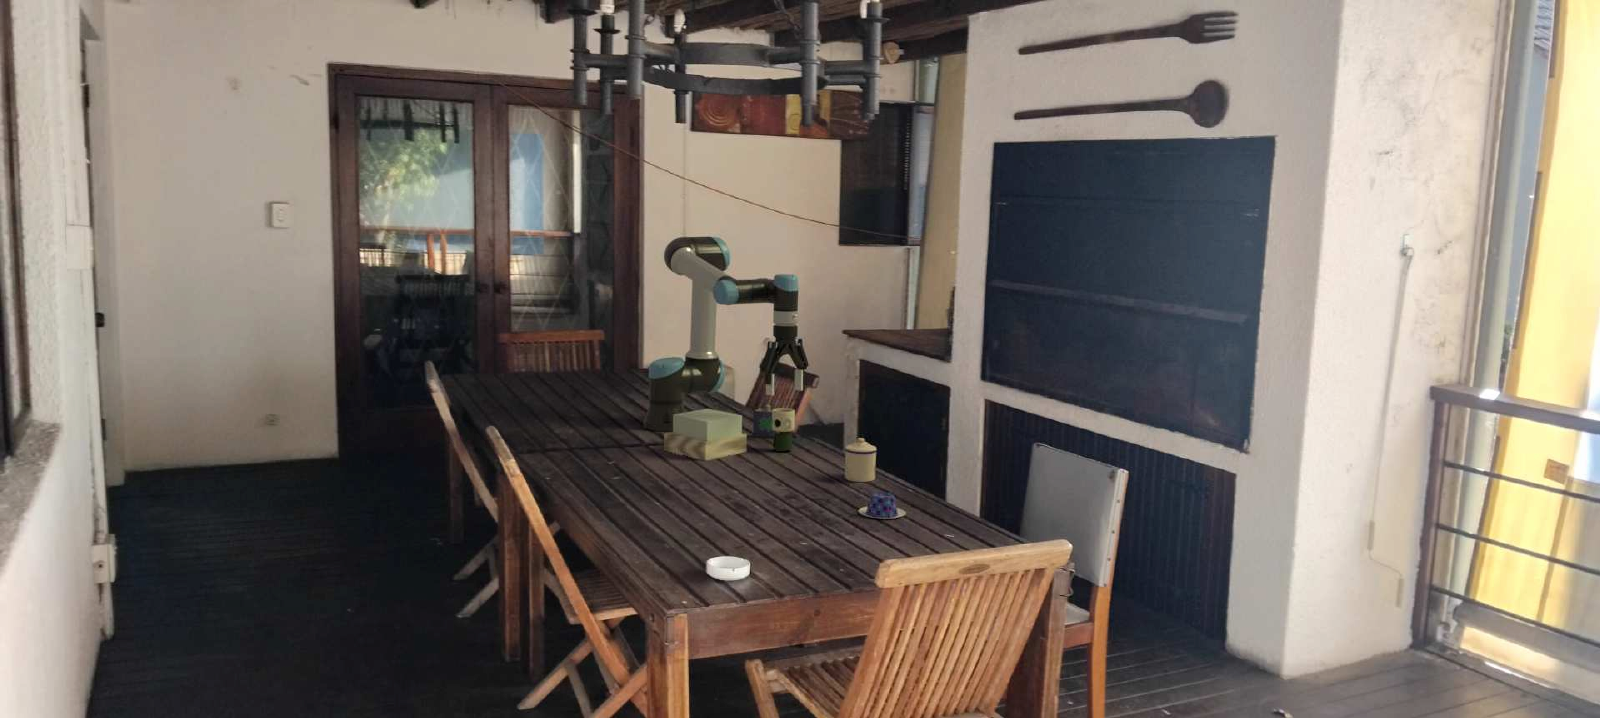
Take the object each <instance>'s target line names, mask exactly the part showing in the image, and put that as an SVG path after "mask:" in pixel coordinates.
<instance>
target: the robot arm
mask: <svg viewBox="0 0 1600 718" xmlns="http://www.w3.org/2000/svg"><path fill="white" fill-rule="evenodd" d="M663 261H664V264H665V266H666V267H667V268H668V269H669V270H670V271H671V272H672V273H674V274H675V275H678V276H684V277H686V278H688V279H689V280H691V281H692V283H691V285H692V287H691V309H690V312H691V314H690V336H689V339H690V340H689V350H688V351H687V352H686V353H685V355H684V358H682V357H678V356H677V357H676V356H674V357H663V358H659V359H655V360H653V361H652V362H651V363H650V365H649V368H648V408H647V410H646V413H645V414H646V415H645V418H644V419H643V428H644V429H645V430H650V431H656V432H673V415H674V414H680V413H686V409H685V405H684V396H689V395H701V394H704V395H707V394H710V393H715V392H718V391H719V390H720V389H721V388H722V386H723V385H724V382H725V378H726V368H725V365H724V362H723V361H722V360H721V359H720V355H719V354H718V353H717V352H716V332H717V331H716V328H717V327H716V326H717V306H718V305H725V306H731V305H746V304H747V305H751V304H753V305H754V304H772V305H773V316H772V317H773V319H772V321H773V324H774V325H773V330H772V335H773V338H774V339H775V340H774V341H770V340H768V341H767V346H766V347H767V349H766V351H765V354H764V357H763V360H762V363H761V366H760V369H759V372H760V373H762V374H764V384H765V395H767V396H775V373H773V372H774V371H775V369H776V367H777V365H778V363H779V361H780V360H781V358H782V357H784V356H786V355H789V356H790V359H791V361H792V362H793V364H794V365H795V367H796V369H794V390H795V391H800V392H801V391H803V390H804V374H805V373H804V372H805V371H806V370H807V369H808V367H809V366H810V365H809V362H808V359H807V354H806V352H805V348H804V343H803V339H802V338H799V337H798V330H799V329H798V326H797V324H798V320H799V319H798V317H799V316H798V315H799V314H798V313H799V312H798V309H799V289H800V287H799V277H798V276H797V274H787V273H785V274H784V273H783V274H781V273H779V274H778V273H777V274H775V275H774V277H773V278H772V279H771V278H765V277H763V278H762V277H760V278H753V279H736V278H734V277H733V276H731V275H729V274H727V273H726V272H725V271H726V270H728V268H729V266H730V264H731V263H730V262H731V254H730V249H729V247H728V245H727V243H726V242H725V240H723V238H720V237H716V236H710V235H709V236H680V237H676V238H674V239H672V240H671V241H670V242H669V243H668V244H667V245H666V247H665V248H664V252H663ZM717 304H718V305H717Z"/></svg>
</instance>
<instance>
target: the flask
mask: <svg viewBox="0 0 1600 718" xmlns="http://www.w3.org/2000/svg"><path fill="white" fill-rule="evenodd" d="M772 410H773V409H771V405H769V404H767V405H766V404H765V407H764V408H762V409H761V408H760V407H759V408H758V409H754V411H753V437H754V438H762V439H763V438H768V439H769V438H772V439H774V437H775V433H776V431H774V430H773V429H772V424H773V420H772Z"/></svg>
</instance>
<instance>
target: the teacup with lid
mask: <svg viewBox="0 0 1600 718" xmlns="http://www.w3.org/2000/svg"><path fill="white" fill-rule="evenodd" d="M844 451H845V457H844V459H845V460H844V461H845V462H844V479H846V481H847V480H848V481H850V482H854V483H855V482H856V483H868V482H872V481H874V480H875V479H876V461H877V457H876V456H877V451H878V450H877V447H876V446H875V445H871V444H870V443H868V442H867V441H865V438H863V437H862V438H861V437H858V438H857V441H855V442H853V443H851V444H848V445H846V446H845V447H844Z"/></svg>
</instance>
